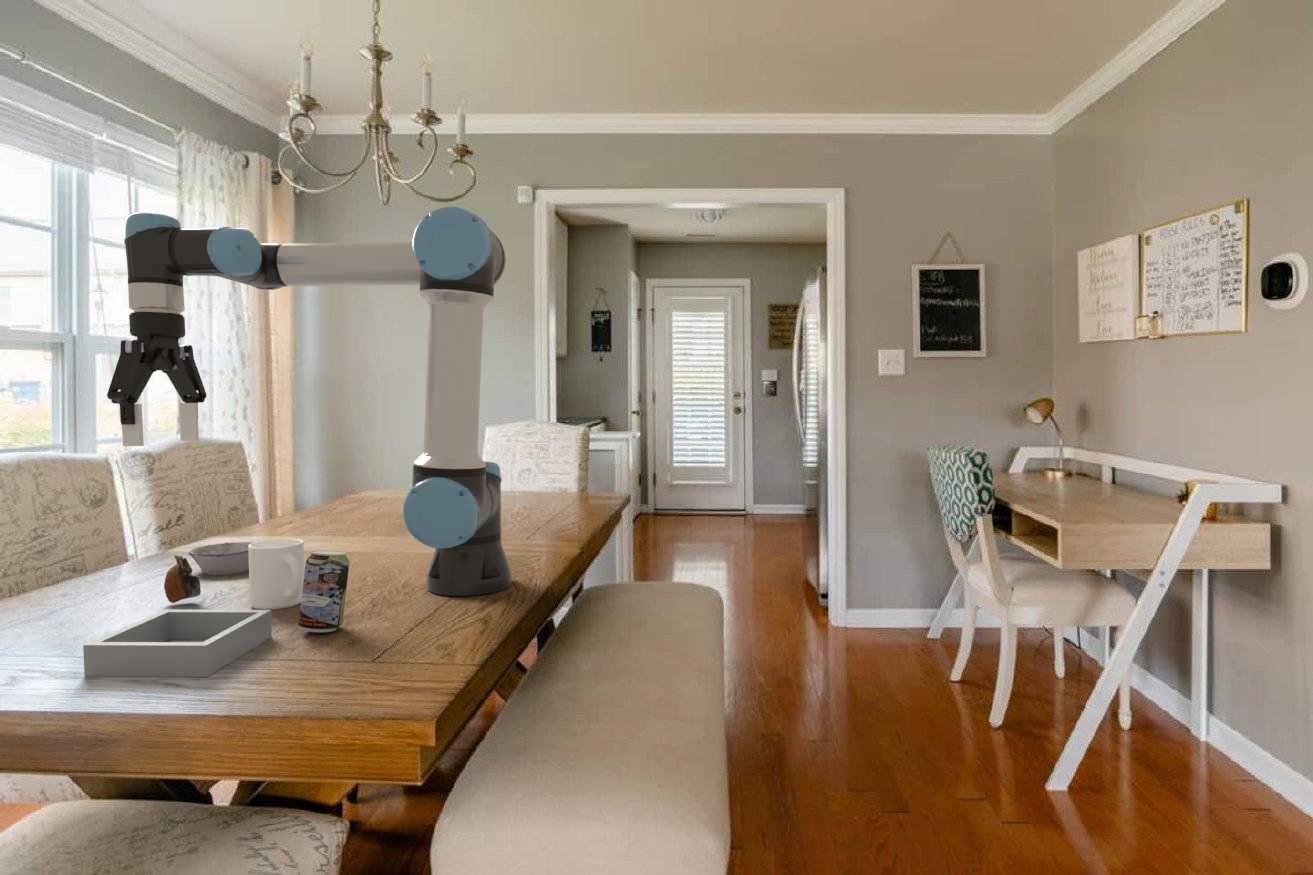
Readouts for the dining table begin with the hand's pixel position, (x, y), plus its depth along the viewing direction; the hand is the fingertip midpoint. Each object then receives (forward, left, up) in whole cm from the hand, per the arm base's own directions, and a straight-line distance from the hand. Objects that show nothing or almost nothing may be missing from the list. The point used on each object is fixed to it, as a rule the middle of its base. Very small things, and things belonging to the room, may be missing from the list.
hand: (163, 443), depth 122 cm
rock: (-2, -1, -28) cm, 28 cm away
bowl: (+6, -26, -28) cm, 38 cm away
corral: (-17, +23, -27) cm, 39 cm away
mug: (-18, -1, -28) cm, 33 cm away
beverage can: (-31, +12, -28) cm, 43 cm away
